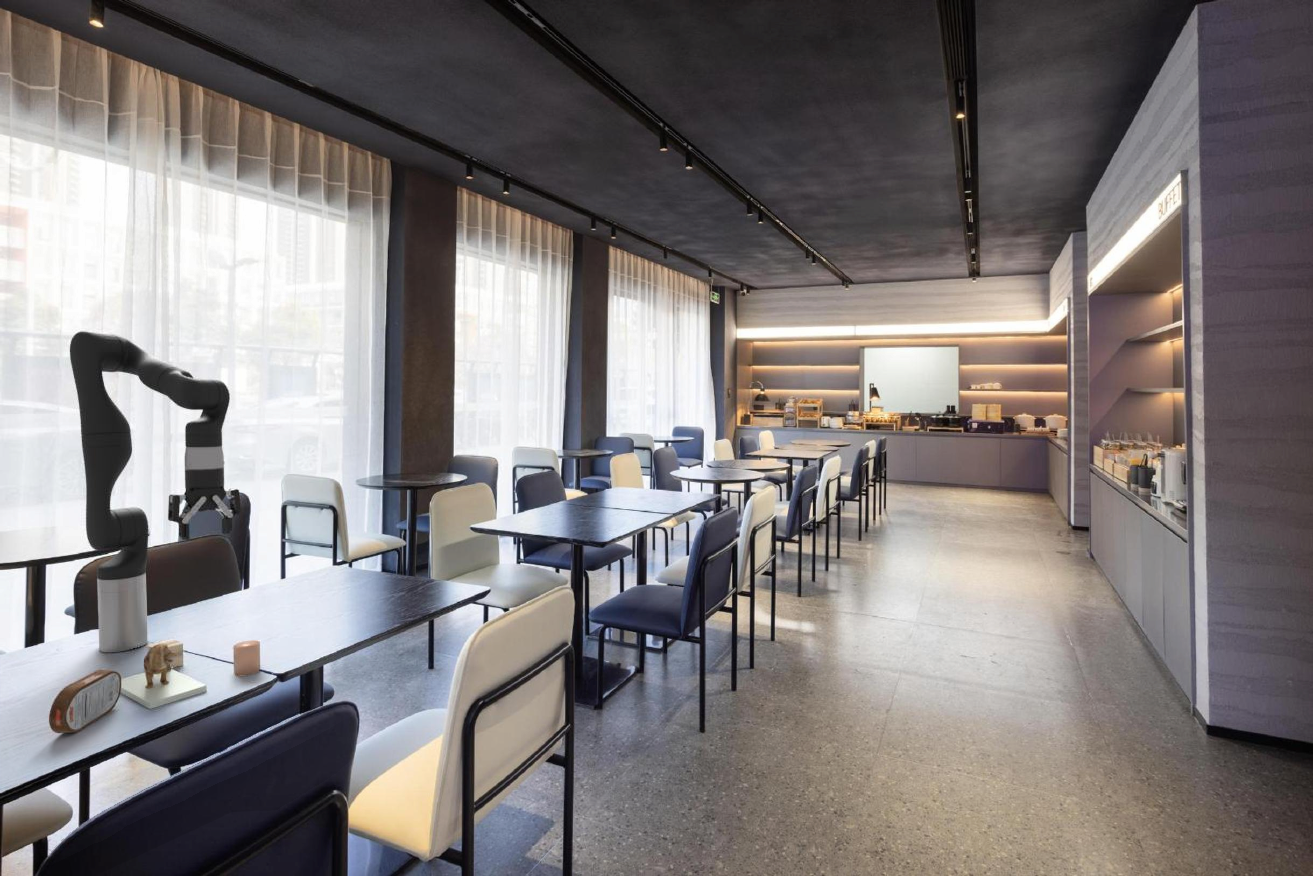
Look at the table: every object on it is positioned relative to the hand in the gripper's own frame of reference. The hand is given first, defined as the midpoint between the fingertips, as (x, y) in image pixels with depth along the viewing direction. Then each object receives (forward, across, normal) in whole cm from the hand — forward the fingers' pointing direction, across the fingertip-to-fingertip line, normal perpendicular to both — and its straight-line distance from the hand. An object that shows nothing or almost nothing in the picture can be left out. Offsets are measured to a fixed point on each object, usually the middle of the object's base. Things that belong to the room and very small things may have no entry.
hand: (206, 536), depth 158 cm
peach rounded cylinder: (+28, 0, +16) cm, 32 cm away
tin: (+28, +28, +17) cm, 43 cm away
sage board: (+28, +14, +11) cm, 33 cm away
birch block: (+28, +8, -2) cm, 29 cm away
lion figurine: (+27, +14, +10) cm, 32 cm away
